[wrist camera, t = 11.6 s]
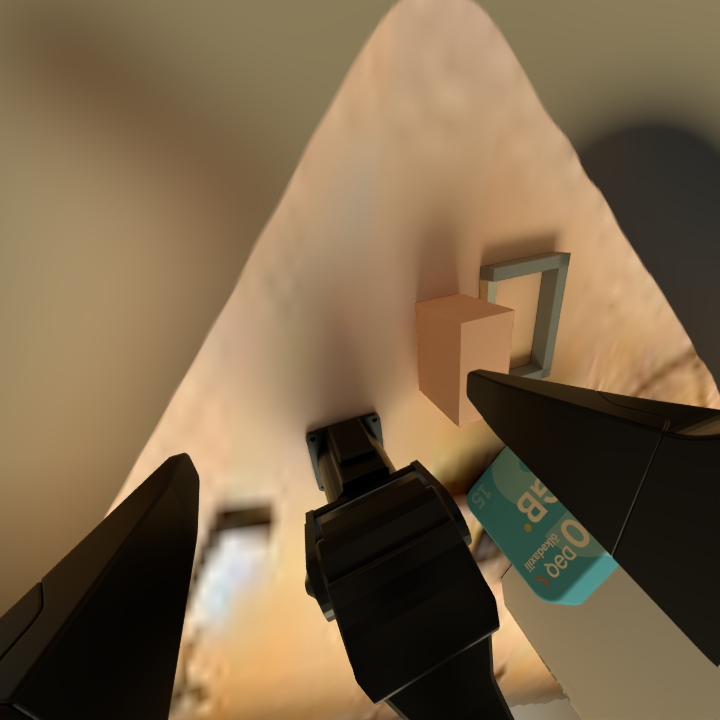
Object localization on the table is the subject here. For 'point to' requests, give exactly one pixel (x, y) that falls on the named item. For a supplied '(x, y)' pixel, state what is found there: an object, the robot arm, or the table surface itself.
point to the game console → (617, 653)
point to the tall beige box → (460, 349)
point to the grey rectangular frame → (548, 304)
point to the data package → (538, 533)
